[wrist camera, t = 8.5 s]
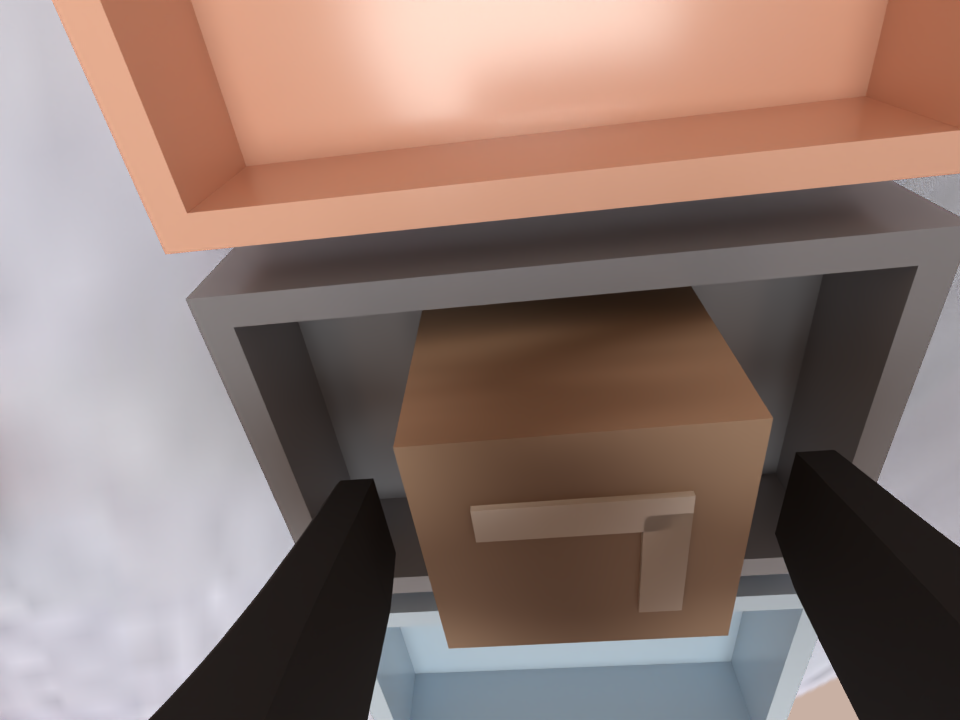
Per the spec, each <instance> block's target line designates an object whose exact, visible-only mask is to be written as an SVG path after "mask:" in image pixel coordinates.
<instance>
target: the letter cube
mask: <svg viewBox="0 0 960 720" xmlns="http://www.w3.org/2000/svg"><path fill="white" fill-rule="evenodd" d="M772 421H773V417H772V415H771V414H770V412H769V411H768V409H767V407H766V406H765V404H764V403H763V401H762V399H761V398H760V396H759V395H758V393H757V391H756V390H755V388H754V386H753V385H752V383H751V382H750V380H749V378H748V377H747V375H746V374H745V372H744V370H743V369H742V367H741V365H740V364H739V362H738V361H737V359H736V357H735V356H734V354H733V353H732V351H731V349H730V348H729V346H728V345H727V343H726V341H725V340H724V338H723V336H722V335H721V333H720V332H719V330H718V328H717V327H716V325H715V324H714V322H713V320H712V319H711V317H710V316H709V314H708V312H707V311H706V309H705V307H704V306H703V304H702V303H701V301H700V299H699V298H698V296H697V295H696V293H695V291H694V290H693V288H692V287H691V286H687V287H676V288H665V289H654V290H643V291H631V292H620V293H609V294H598V295H587V296H576V297H565V298H554V299H543V300H532V301H521V302H509V303H498V304H487V305H476V306H465V307H454V308H443V309H432V310H422V314H421V318H420V323H419V328H418V333H417V337H416V342H415V347H414V351H413V356H412V361H411V365H410V370H409V375H408V380H407V384H406V389H405V394H404V398H403V403H402V408H401V413H400V417H399V422H398V427H397V431H396V436H395V441H394V446H393V449H394V453H395V457H396V460H397V464H398V467H399V471H400V475H401V478H402V482H403V486H404V489H405V493H406V496H407V500H408V504H409V507H410V511H411V514H412V518H413V522H414V525H415V529H416V533H417V536H418V540H419V543H420V547H421V551H422V554H423V558H424V561H425V565H426V569H427V572H428V576H429V579H430V583H431V587H432V590H433V594H434V598H435V601H436V605H437V608H438V612H439V616H440V619H441V623H442V626H443V630H444V634H445V637H446V641H447V645H448V648H449V649H453V648H475V647H496V646H517V645H538V644H560V643H581V642H602V641H623V640H645V639H666V638H687V637H708V636H728V634H729V629H730V624H731V620H732V615H733V610H734V605H735V600H736V595H737V591H738V586H739V581H740V576H741V571H742V566H743V562H744V557H745V552H746V547H747V542H748V537H749V533H750V528H751V523H752V518H753V513H754V508H755V504H756V499H757V494H758V489H759V484H760V479H761V475H762V470H763V465H764V460H765V455H766V450H767V446H768V441H769V436H770V431H771V426H772Z"/></svg>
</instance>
